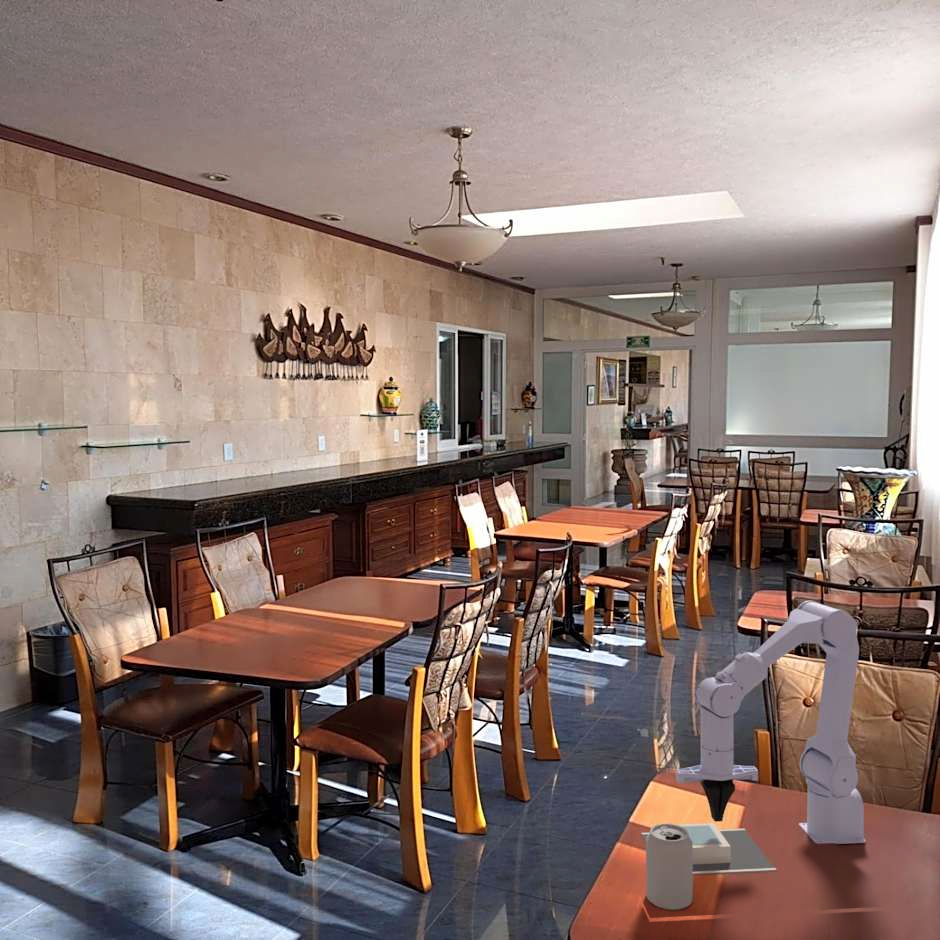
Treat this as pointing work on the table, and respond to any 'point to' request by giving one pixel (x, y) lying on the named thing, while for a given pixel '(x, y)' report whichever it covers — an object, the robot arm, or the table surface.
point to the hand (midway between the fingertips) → (716, 819)
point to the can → (669, 867)
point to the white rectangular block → (708, 844)
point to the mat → (736, 856)
